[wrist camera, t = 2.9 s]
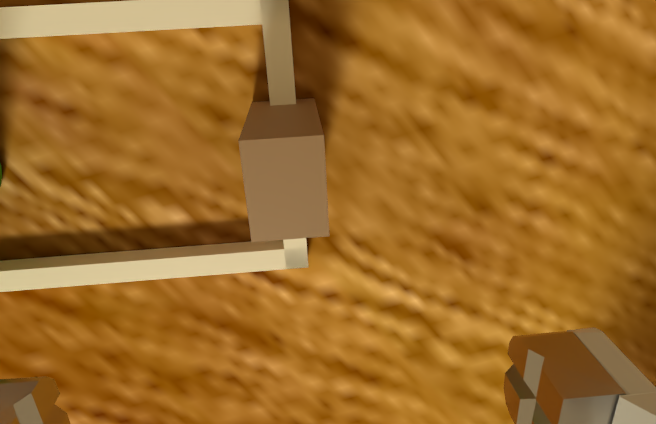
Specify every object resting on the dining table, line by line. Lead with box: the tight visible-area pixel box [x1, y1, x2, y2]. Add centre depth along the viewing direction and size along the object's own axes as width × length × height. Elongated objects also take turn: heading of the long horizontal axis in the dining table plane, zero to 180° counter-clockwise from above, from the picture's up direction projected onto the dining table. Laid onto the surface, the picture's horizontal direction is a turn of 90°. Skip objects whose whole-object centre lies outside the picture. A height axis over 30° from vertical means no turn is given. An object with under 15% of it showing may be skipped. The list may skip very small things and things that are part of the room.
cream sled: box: [0, 0, 329, 292], centre depth 20 cm, size 25×13×7 cm, turn 93°
